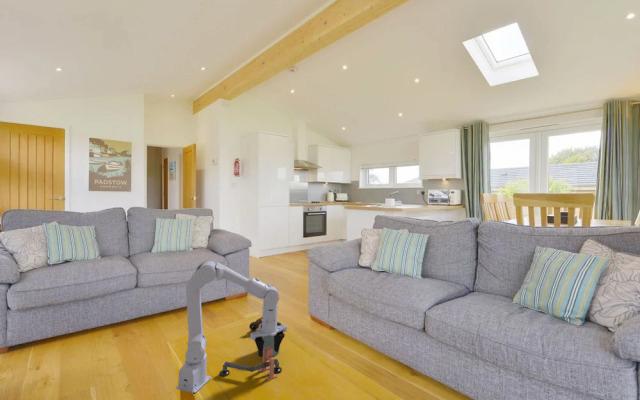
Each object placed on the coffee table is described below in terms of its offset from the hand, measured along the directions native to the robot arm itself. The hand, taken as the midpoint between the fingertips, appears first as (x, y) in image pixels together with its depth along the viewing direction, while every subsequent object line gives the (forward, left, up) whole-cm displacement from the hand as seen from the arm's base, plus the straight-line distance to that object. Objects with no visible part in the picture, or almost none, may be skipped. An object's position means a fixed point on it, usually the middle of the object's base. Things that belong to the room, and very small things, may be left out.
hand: (268, 353), depth 119 cm
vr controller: (+32, +18, -8) cm, 38 cm away
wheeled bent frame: (-1, +7, -8) cm, 10 cm away
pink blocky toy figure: (0, 0, -8) cm, 8 cm away
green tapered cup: (+15, +6, -8) cm, 18 cm away
